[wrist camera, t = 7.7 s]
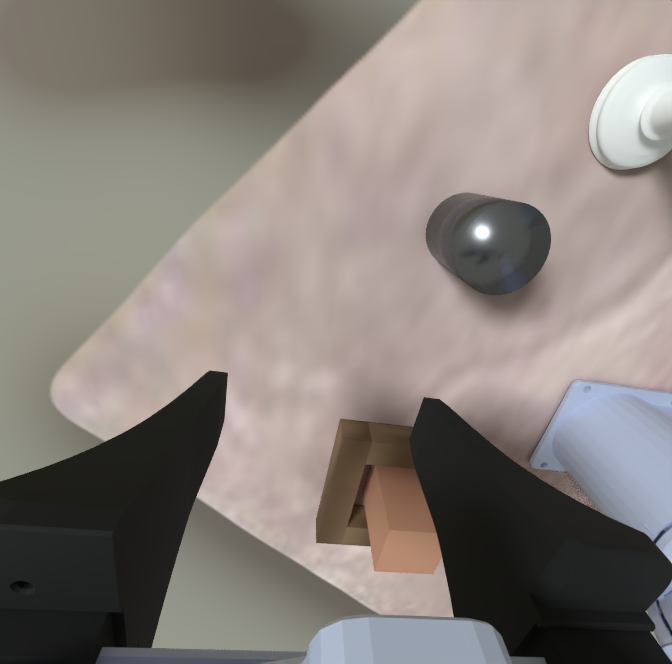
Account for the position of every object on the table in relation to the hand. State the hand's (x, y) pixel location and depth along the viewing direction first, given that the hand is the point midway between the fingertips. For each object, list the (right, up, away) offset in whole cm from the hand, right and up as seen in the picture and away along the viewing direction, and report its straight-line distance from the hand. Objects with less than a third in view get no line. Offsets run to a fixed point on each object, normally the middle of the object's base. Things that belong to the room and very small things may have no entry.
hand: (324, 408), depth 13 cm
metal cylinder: (+7, +8, +7) cm, 13 cm away
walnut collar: (+5, -9, +15) cm, 18 cm away
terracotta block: (+5, -9, +15) cm, 18 cm away
